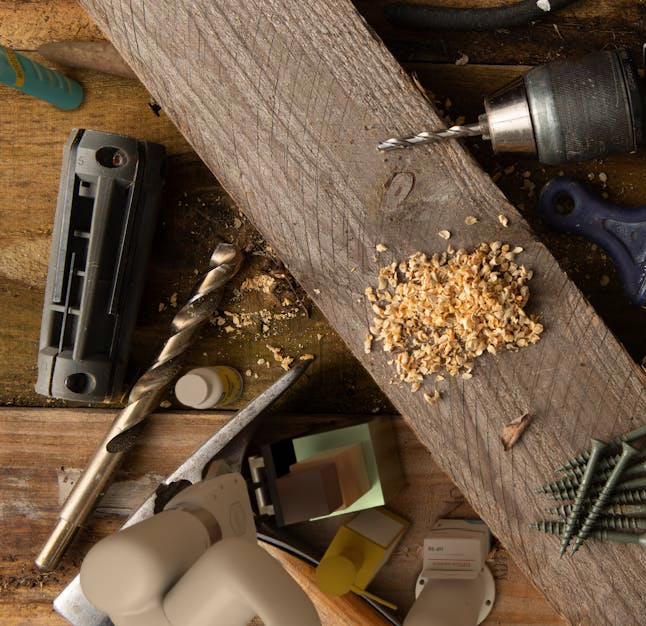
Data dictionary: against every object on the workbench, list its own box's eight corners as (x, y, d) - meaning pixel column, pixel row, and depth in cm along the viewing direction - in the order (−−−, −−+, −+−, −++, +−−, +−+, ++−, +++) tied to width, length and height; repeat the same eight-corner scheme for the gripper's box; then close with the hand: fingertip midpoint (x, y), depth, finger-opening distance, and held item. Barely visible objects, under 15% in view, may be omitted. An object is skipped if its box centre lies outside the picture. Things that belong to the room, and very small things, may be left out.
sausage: (133, 51, 119) (154, 34, 124) (16, 34, 119) (41, 18, 124) (145, 89, 124) (165, 71, 128) (32, 73, 124) (56, 56, 128)
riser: (371, 489, 114) (346, 509, 102) (330, 499, 114) (300, 519, 102) (360, 442, 114) (335, 456, 102) (319, 451, 114) (289, 466, 102)
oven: (337, 501, 127) (309, 521, 114) (321, 427, 127) (292, 439, 114) (405, 486, 127) (385, 504, 114) (389, 412, 127) (367, 423, 114)
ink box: (491, 519, 127) (479, 545, 112) (490, 550, 127) (478, 580, 112) (437, 518, 127) (419, 544, 112) (437, 549, 127) (418, 579, 112)
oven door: (306, 507, 127) (255, 531, 115) (290, 434, 127) (238, 450, 115) (334, 501, 126) (286, 525, 114) (319, 428, 126) (269, 444, 114)
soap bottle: (417, 579, 127) (380, 637, 103) (348, 539, 127) (295, 589, 103) (439, 539, 127) (407, 588, 103) (370, 500, 127) (323, 540, 103)
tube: (94, 106, 126) (7, 67, 107) (67, 122, 126) (-25, 86, 107) (69, 66, 126) (-22, 20, 107) (43, 82, 126) (-54, 39, 107)
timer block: (343, 504, 102) (330, 515, 96) (300, 514, 102) (284, 525, 96) (334, 461, 102) (320, 470, 96) (291, 471, 102) (274, 479, 96)
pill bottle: (240, 407, 126) (207, 415, 115) (201, 399, 126) (165, 407, 115) (248, 369, 126) (216, 373, 115) (209, 361, 126) (174, 365, 115)
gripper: (234, 610, 83) (296, 558, 102) (201, 456, 83) (269, 432, 102) (163, 626, 83) (239, 571, 101) (130, 471, 83) (212, 445, 101)
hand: (253, 502), depth 101 cm, fingers open, 3 cm apart
